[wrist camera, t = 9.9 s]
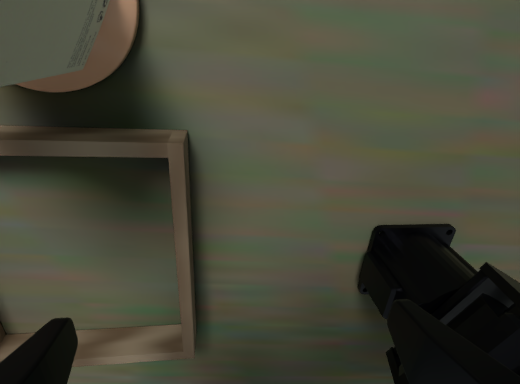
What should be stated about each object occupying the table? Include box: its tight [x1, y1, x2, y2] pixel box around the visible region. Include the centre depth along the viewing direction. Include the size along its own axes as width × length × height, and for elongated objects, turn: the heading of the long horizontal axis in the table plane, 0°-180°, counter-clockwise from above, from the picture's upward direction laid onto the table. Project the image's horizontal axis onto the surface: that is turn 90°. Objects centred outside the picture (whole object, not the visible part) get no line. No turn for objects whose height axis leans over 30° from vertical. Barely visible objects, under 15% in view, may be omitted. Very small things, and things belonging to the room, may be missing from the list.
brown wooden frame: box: [0, 125, 197, 367], centre depth 20 cm, size 15×17×2 cm
